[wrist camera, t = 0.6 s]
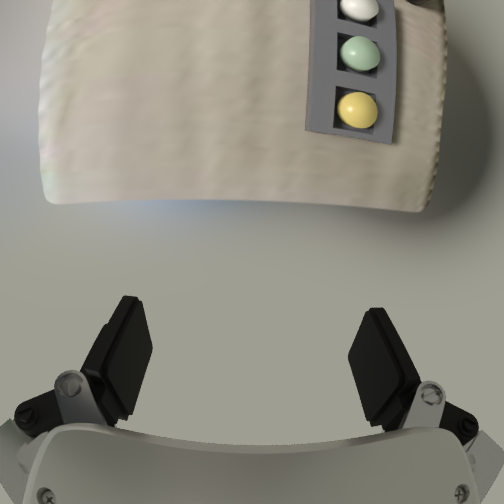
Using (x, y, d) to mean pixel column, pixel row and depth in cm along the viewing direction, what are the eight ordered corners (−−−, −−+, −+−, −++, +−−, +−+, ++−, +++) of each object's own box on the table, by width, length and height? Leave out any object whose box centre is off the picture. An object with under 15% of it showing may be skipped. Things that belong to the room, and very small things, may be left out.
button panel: (310, -13, 22) (314, -22, 19) (384, 6, 22) (393, 0, 19) (304, 130, 32) (309, 131, 29) (381, 141, 32) (391, 144, 29)
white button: (338, -8, 20) (344, -15, 18) (370, 1, 20) (377, -5, 18) (339, 18, 22) (345, 11, 20) (371, 26, 22) (379, 21, 20)
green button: (339, 37, 24) (345, 32, 22) (371, 45, 24) (380, 41, 22) (338, 67, 26) (345, 64, 24) (371, 75, 26) (379, 73, 24)
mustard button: (337, 90, 27) (344, 88, 25) (370, 97, 27) (378, 96, 25) (335, 124, 29) (341, 125, 27) (367, 129, 29) (376, 131, 27)
